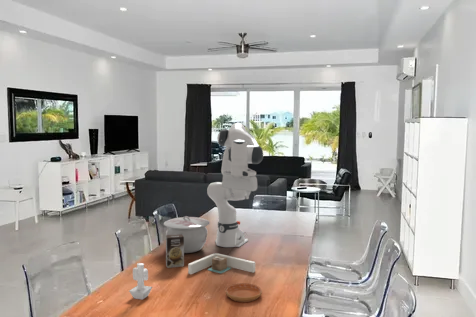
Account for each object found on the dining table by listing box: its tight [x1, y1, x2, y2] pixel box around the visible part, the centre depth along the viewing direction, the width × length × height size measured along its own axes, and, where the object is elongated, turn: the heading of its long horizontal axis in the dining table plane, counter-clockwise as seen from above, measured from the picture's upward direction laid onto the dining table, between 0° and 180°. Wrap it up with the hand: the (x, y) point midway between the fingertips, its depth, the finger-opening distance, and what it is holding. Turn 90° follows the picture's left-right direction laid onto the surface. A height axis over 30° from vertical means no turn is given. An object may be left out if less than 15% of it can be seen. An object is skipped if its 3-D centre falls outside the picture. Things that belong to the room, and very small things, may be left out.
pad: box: [206, 266, 232, 274], centre depth 217 cm, size 9×9×1 cm
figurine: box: [128, 262, 153, 300], centre depth 182 cm, size 7×9×15 cm
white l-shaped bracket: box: [187, 252, 256, 275], centre depth 212 cm, size 22×26×5 cm
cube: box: [211, 256, 228, 271], centre depth 216 cm, size 6×6×6 cm
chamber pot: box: [163, 215, 211, 254], centre depth 249 cm, size 28×28×21 cm
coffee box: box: [165, 234, 185, 269], centre depth 222 cm, size 9×6×16 cm
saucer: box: [225, 282, 263, 303], centre depth 184 cm, size 16×16×3 cm
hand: (239, 198), depth 216 cm, fingers open, 8 cm apart
